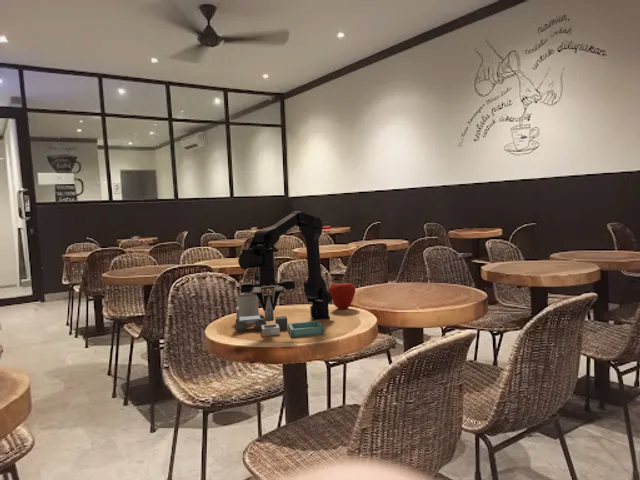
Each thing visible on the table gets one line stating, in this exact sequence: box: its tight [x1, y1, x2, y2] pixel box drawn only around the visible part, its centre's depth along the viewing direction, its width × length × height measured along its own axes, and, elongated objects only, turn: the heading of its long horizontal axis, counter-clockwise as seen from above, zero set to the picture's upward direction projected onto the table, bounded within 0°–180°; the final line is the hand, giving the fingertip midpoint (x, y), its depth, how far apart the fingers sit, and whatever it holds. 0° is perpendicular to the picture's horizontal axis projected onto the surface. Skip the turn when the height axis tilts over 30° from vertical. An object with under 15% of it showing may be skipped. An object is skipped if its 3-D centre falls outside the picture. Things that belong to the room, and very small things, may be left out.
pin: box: [263, 293, 275, 322], centre depth 170 cm, size 3×3×9 cm
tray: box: [287, 320, 324, 338], centre depth 169 cm, size 11×10×2 cm
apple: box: [328, 281, 356, 310], centre depth 206 cm, size 11×11×12 cm
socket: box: [261, 323, 281, 337], centre depth 170 cm, size 6×6×2 cm
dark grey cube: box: [274, 315, 288, 331], centre depth 177 cm, size 4×4×4 cm
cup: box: [236, 293, 260, 317], centre depth 193 cm, size 8×8×10 cm
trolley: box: [235, 306, 267, 333], centre depth 179 cm, size 11×9×8 cm
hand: (268, 310), depth 170 cm, fingers closed on pin, 3 cm apart
